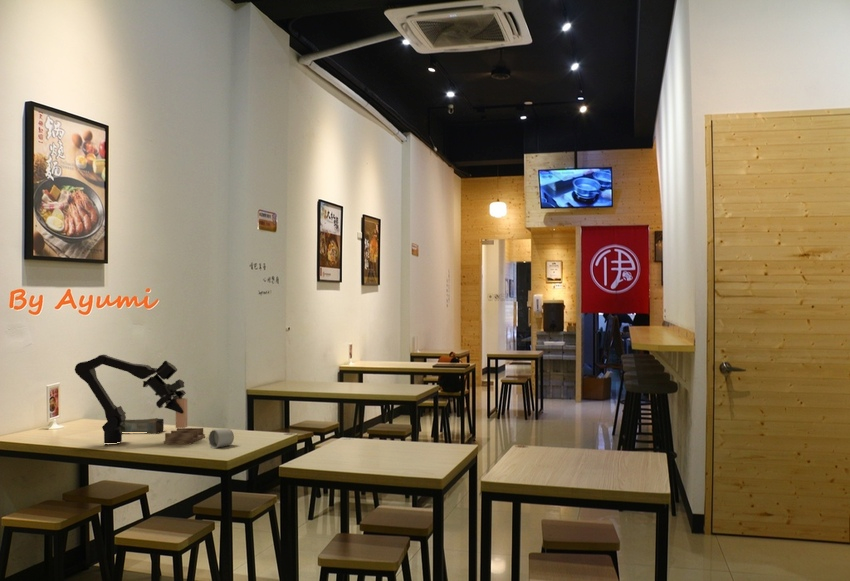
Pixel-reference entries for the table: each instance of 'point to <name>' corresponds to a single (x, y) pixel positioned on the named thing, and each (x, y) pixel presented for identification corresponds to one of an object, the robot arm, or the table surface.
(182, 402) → the clay slab
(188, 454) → the table surface
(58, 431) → the table surface
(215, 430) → the grey cup
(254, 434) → the table surface
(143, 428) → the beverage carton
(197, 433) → the slotted wooden tray
